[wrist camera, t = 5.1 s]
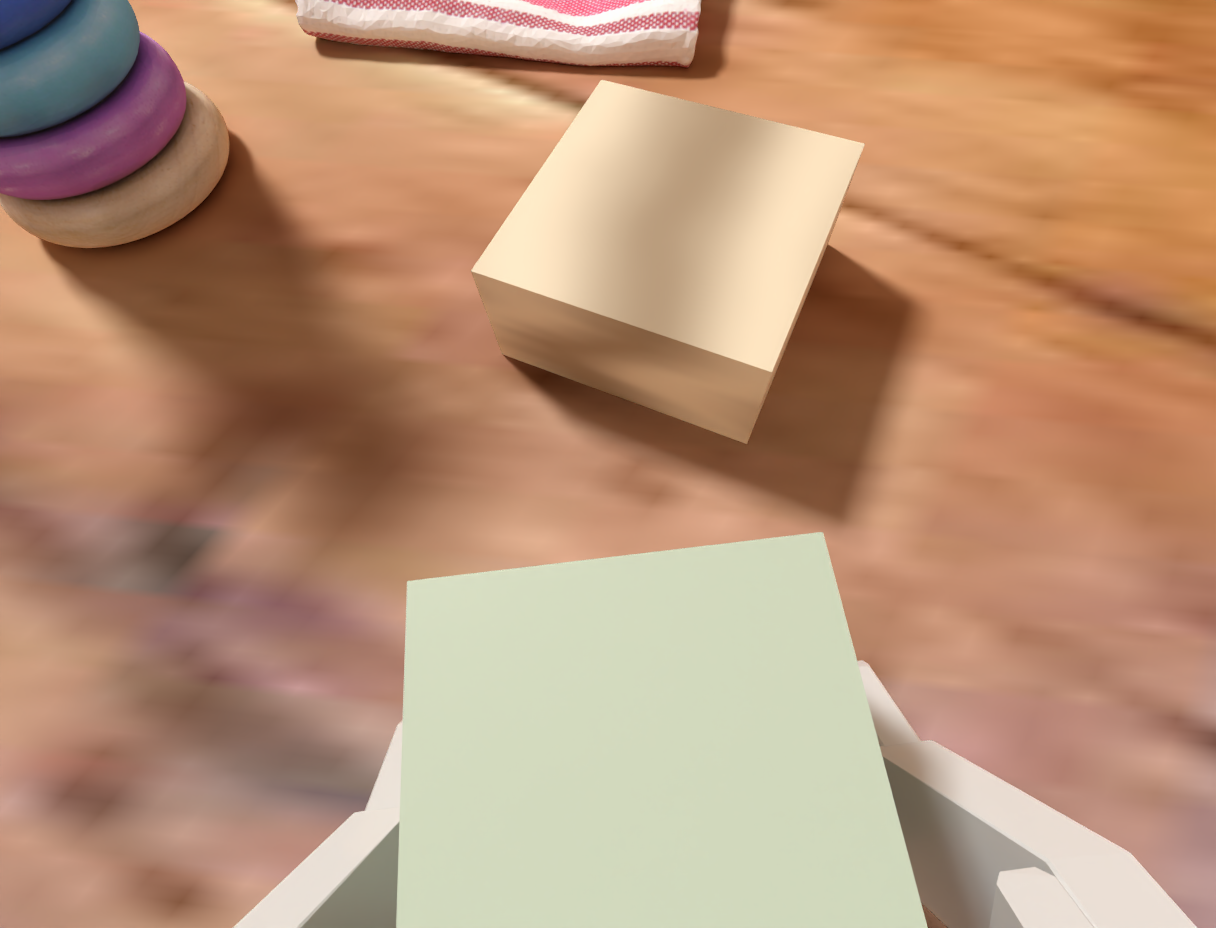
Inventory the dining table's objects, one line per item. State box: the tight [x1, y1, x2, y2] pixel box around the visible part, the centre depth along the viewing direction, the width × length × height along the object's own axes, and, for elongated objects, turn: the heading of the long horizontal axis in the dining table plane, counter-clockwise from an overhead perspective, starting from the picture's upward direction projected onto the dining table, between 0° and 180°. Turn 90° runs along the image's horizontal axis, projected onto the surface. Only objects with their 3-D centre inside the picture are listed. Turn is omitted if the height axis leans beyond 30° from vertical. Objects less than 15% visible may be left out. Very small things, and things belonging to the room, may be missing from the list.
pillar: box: [396, 532, 928, 928], centre depth 10 cm, size 4×4×10 cm
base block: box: [471, 80, 865, 444], centre depth 18 cm, size 8×8×4 cm
